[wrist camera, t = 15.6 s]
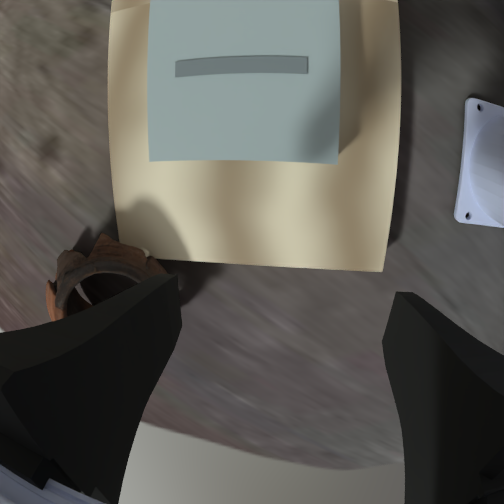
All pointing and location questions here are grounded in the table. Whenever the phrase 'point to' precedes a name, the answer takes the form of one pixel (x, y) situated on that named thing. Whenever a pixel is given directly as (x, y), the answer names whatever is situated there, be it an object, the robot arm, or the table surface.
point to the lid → (244, 80)
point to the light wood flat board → (264, 164)
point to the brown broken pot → (99, 261)
